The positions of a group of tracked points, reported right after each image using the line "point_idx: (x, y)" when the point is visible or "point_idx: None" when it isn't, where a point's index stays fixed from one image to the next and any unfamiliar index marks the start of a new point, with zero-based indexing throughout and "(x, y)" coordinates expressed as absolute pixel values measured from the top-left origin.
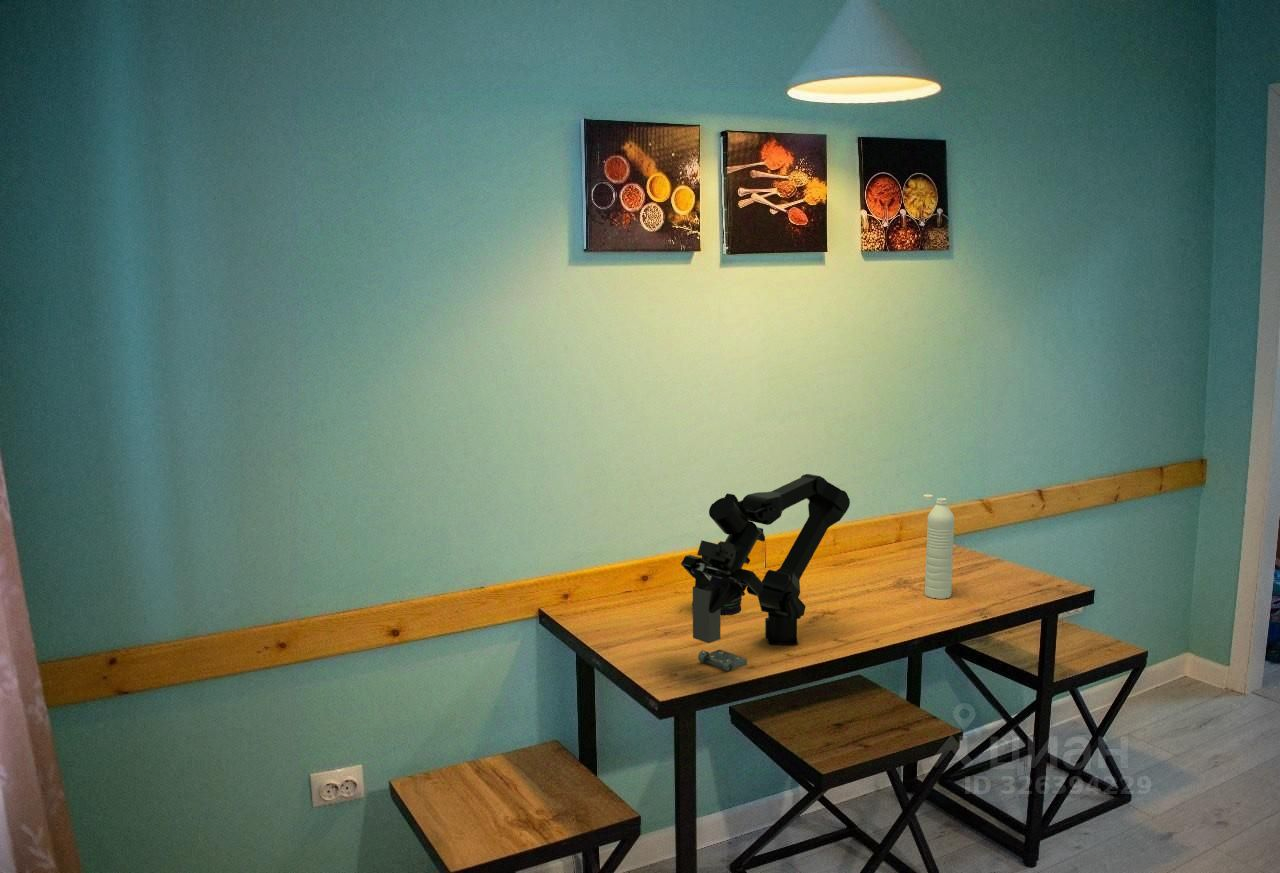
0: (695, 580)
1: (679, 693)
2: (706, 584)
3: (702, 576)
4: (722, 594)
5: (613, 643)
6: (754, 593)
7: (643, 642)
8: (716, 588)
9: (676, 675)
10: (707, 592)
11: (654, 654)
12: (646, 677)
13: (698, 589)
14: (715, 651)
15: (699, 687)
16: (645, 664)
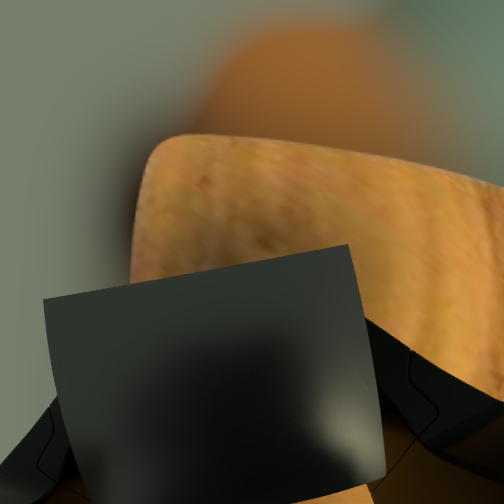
0: (496, 400)
1: (155, 182)
2: (318, 476)
3: (466, 497)
4: (34, 434)
5: (500, 234)
6: None
7: (485, 298)
8: (88, 462)
9: (257, 241)
10: (71, 297)
11: (417, 278)
12: (290, 170)
13: (231, 271)
14: None
15: (152, 244)
16: (370, 217)
